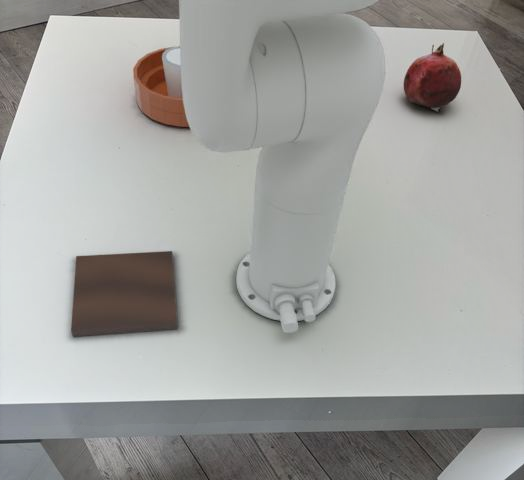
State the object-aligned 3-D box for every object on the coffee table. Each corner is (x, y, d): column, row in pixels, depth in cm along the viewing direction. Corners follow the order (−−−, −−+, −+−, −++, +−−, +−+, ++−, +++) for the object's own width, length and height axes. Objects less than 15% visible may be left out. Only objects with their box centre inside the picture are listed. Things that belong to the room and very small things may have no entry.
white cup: (200, 113, 89) (199, 70, 83) (159, 105, 89) (155, 63, 84) (210, 91, 93) (210, 49, 87) (172, 84, 93) (169, 42, 88)
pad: (177, 329, 64) (177, 324, 63) (72, 337, 63) (70, 331, 62) (172, 256, 71) (172, 250, 70) (77, 261, 69) (76, 255, 69)
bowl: (239, 128, 88) (240, 99, 84) (137, 130, 86) (133, 100, 82) (228, 75, 97) (229, 46, 93) (136, 76, 95) (132, 46, 91)
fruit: (447, 124, 93) (469, 65, 85) (393, 110, 94) (410, 51, 86) (455, 97, 98) (477, 40, 90) (404, 84, 99) (421, 26, 91)
